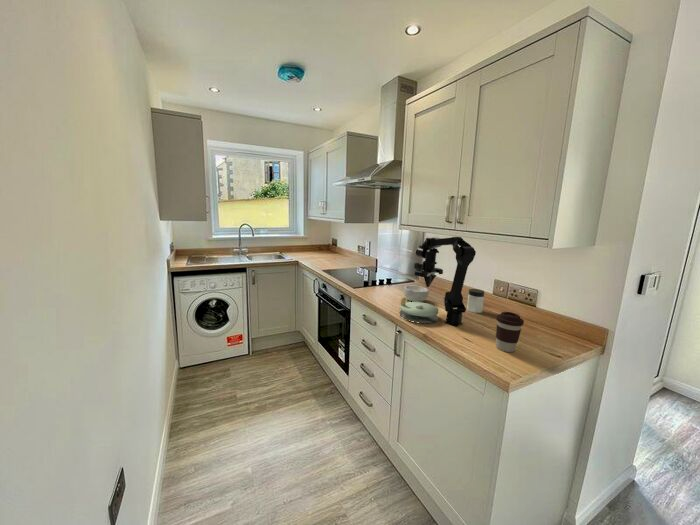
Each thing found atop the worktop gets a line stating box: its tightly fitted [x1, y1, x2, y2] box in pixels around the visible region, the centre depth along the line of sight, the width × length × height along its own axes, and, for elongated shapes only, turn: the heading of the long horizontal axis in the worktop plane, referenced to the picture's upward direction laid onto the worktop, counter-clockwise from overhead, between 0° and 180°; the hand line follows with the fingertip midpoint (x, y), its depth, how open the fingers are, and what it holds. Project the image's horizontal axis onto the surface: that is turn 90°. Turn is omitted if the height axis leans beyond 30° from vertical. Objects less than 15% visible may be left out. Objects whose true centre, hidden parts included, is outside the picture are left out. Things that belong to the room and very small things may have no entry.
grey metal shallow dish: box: [398, 309, 439, 324], centre depth 154 cm, size 20×20×4 cm
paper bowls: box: [403, 284, 430, 303], centre depth 183 cm, size 15×15×8 cm
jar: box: [466, 288, 485, 314], centre depth 168 cm, size 9×8×12 cm
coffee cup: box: [495, 311, 525, 353], centre depth 121 cm, size 10×10×15 cm
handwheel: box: [399, 296, 439, 317], centre depth 153 cm, size 20×20×6 cm
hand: (427, 286), depth 166 cm, fingers closed
